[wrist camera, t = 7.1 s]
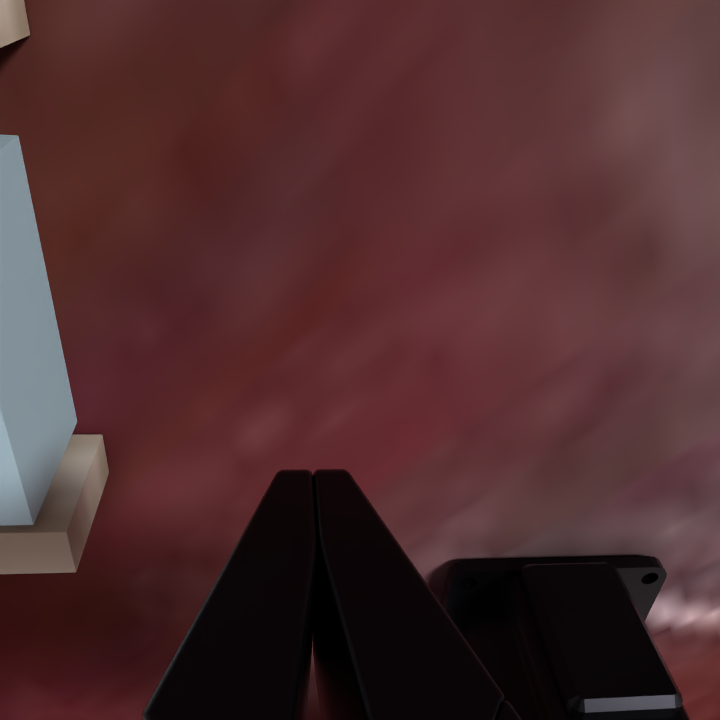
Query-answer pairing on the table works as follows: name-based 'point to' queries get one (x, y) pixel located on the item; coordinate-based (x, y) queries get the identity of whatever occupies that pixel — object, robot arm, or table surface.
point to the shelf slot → (77, 467)
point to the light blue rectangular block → (27, 354)
